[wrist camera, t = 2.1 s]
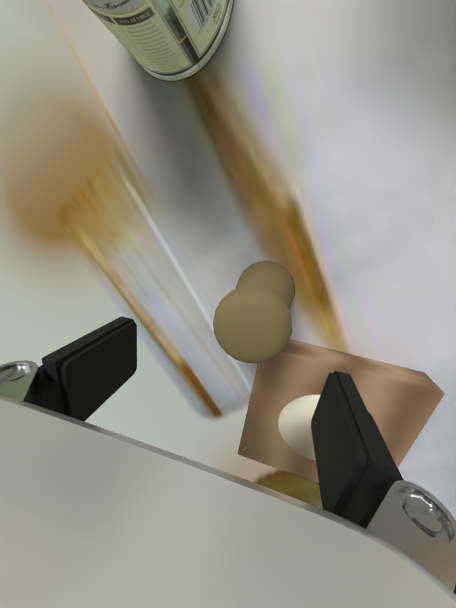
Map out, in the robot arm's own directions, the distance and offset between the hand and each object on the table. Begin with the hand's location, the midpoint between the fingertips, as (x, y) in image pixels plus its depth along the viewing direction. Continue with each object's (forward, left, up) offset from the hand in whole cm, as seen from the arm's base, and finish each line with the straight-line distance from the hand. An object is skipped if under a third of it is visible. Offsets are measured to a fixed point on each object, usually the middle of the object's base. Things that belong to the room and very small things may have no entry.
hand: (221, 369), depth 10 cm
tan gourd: (-1, 0, -14) cm, 14 cm away
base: (-10, +13, -14) cm, 21 cm away
